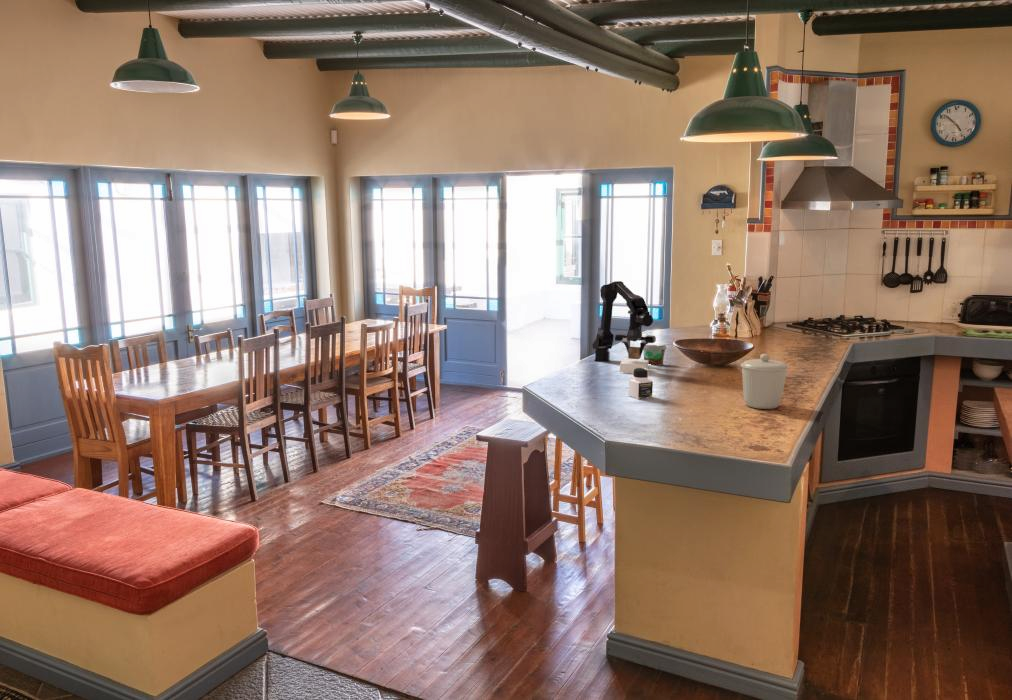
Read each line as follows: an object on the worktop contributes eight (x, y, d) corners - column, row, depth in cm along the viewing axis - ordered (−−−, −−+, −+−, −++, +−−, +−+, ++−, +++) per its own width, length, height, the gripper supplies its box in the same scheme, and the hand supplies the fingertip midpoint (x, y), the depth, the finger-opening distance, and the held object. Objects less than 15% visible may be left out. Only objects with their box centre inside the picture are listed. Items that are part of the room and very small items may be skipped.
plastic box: (619, 373, 378) (620, 363, 378) (623, 369, 390) (623, 359, 389) (645, 375, 375) (645, 364, 374) (648, 370, 386) (648, 360, 385)
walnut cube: (628, 358, 380) (628, 348, 379) (630, 356, 384) (631, 346, 384) (638, 359, 378) (638, 348, 377) (640, 357, 383) (641, 347, 382)
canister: (779, 414, 302) (783, 359, 298) (732, 408, 311) (735, 355, 308) (790, 404, 317) (794, 352, 313) (745, 399, 326) (748, 348, 323)
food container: (638, 364, 400) (638, 344, 398) (642, 362, 405) (642, 342, 404) (662, 366, 394) (662, 346, 393) (665, 364, 400) (666, 344, 398)
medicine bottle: (638, 399, 325) (639, 370, 323) (628, 396, 331) (628, 367, 329) (652, 397, 328) (653, 369, 326) (641, 394, 334) (642, 366, 332)
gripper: (612, 324, 375) (611, 357, 377) (651, 327, 368) (650, 360, 370) (618, 321, 385) (617, 353, 387) (656, 324, 378) (655, 356, 380)
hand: (634, 356), depth 381 cm, fingers closed on walnut cube, 5 cm apart
